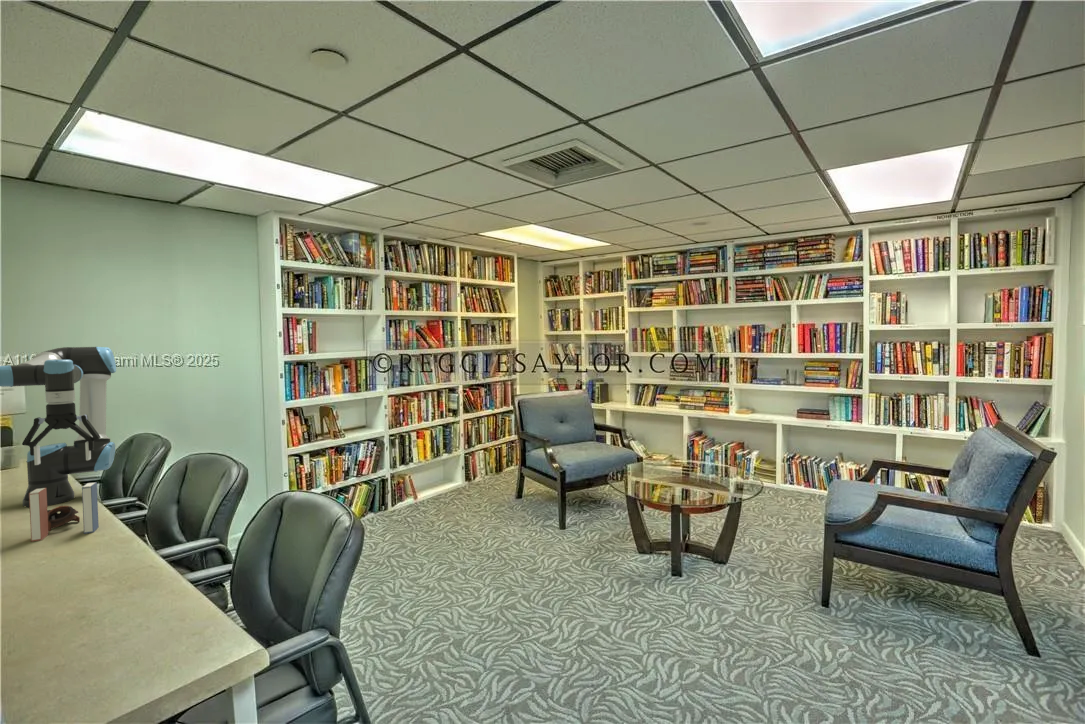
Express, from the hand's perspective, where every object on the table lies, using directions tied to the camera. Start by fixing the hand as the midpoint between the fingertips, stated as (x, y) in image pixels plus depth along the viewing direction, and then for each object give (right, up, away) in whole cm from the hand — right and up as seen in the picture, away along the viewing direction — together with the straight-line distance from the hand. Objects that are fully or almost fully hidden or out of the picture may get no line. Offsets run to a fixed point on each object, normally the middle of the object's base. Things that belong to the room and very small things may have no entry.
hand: (63, 462), depth 179 cm
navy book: (+15, -23, -5) cm, 28 cm away
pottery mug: (0, -24, 0) cm, 24 cm away
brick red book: (+3, -23, -12) cm, 26 cm away
